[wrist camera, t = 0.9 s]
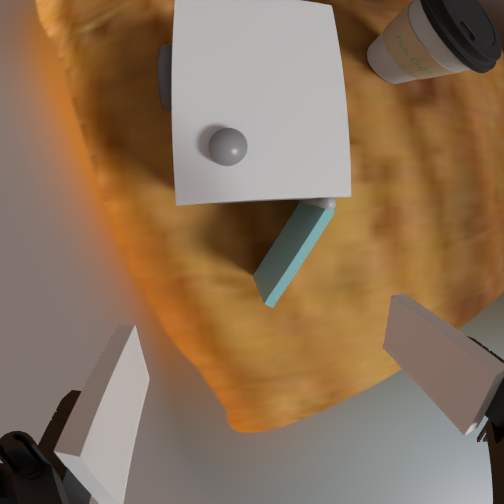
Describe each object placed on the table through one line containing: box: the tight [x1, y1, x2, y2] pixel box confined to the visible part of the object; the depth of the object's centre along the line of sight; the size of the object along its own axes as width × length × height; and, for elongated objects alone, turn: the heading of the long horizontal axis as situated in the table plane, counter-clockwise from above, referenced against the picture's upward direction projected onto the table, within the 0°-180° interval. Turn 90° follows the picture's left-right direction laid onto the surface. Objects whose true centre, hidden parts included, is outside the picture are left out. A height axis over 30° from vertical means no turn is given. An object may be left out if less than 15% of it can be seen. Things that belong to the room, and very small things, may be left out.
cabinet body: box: [158, 0, 351, 206], centre depth 21 cm, size 16×13×10 cm
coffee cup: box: [367, 0, 502, 84], centre depth 18 cm, size 9×9×15 cm
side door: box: [253, 197, 336, 308], centre depth 25 cm, size 10×2×7 cm, turn 148°
